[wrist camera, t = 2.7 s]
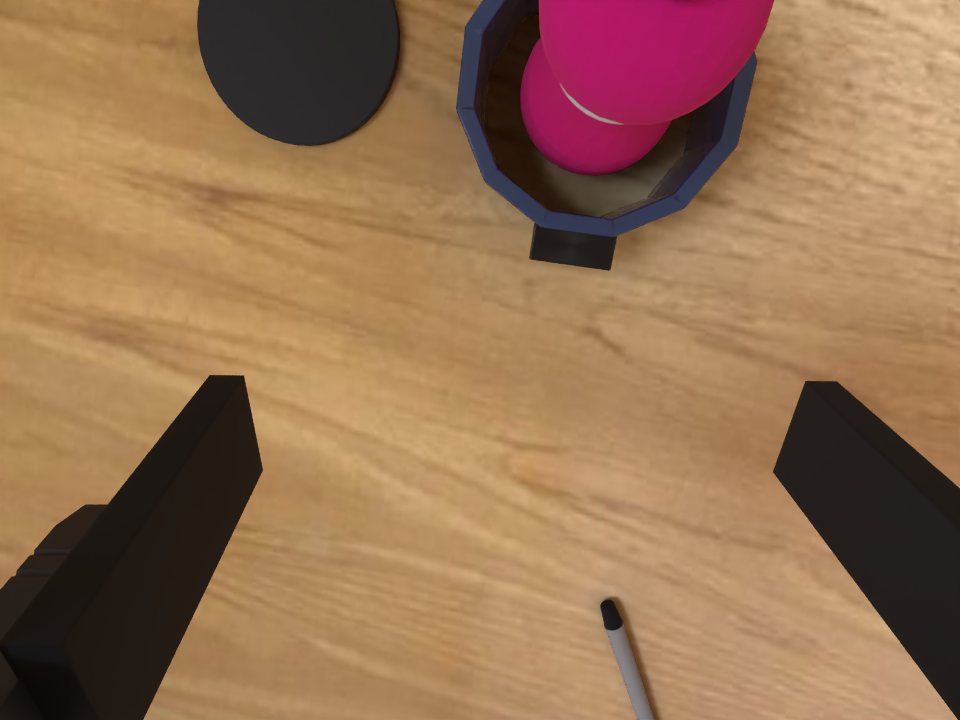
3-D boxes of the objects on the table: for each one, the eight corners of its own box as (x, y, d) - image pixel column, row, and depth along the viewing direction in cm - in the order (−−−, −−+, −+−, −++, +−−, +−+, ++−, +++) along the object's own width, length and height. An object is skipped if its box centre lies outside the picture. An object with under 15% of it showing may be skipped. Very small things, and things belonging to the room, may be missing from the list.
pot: (455, 242, 33) (440, 248, 27) (492, -72, 28) (484, -145, 23) (672, 272, 32) (704, 285, 26) (742, -43, 28) (798, -110, 22)
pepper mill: (548, 16, 29) (593, -370, 10) (678, 63, 29) (972, -231, 10) (502, 155, 31) (465, 56, 12) (624, 199, 31) (784, 171, 12)
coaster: (164, 45, 31) (158, 42, 31) (284, -131, 29) (279, -138, 28) (314, 187, 32) (310, 186, 32) (442, 31, 30) (440, 27, 29)
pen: (614, 595, 38) (617, 608, 36) (677, 781, 41) (682, 800, 40) (595, 599, 38) (598, 613, 37) (659, 785, 41) (664, 803, 40)
